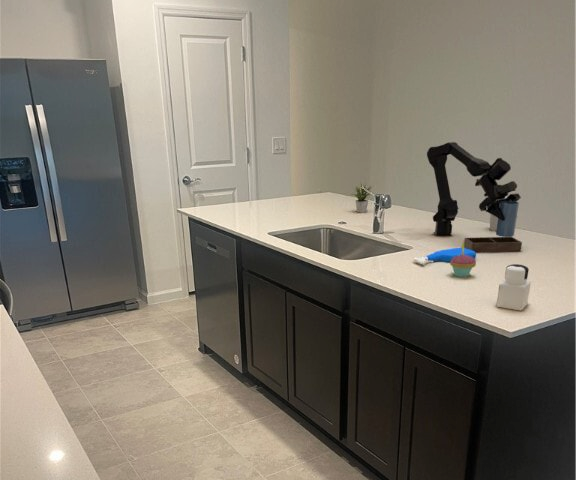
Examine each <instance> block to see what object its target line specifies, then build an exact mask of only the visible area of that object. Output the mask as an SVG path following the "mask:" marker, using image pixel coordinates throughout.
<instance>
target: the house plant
mask: <svg viewBox="0 0 576 480" xmlns="http://www.w3.org/2000/svg"><path fill="white" fill-rule="evenodd" d="M353 186H354V187H353V189H354V190H355V192H356V193H352V194H351V195H354V196H355V197H356V198H357V199H356V200H355V207H356V212H357V213H359V214H363V213H367V210H368V204H369V200H368V199H367V197H369V196H371V193H370V192H366V191H365V190H368V191H370V190H372V188H373V185H370V186H369V187H368V188H367V183H366V182H365V183H364V185H363V184H362V182H361V181H360V187H358V186H357V185H355V184H353ZM361 187H364V188H366V189H365V190H364V189H362V188H361Z"/></svg>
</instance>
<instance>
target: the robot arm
mask: <svg viewBox="0 0 576 480" xmlns="http://www.w3.org/2000/svg"><path fill="white" fill-rule="evenodd" d="M449 155H451V156H452V157H453V158H455V159H456V160H457V161H459V162H460V163H461V164H463V165H464V166H465V169H466V171H467V172H468V173H469V174H470V175H471V176H472V177H474V178H475V177H480V178H476V180H475V184H474V186H475V187H480V186H481V188H482V191H483V192H484V194H483V196H484V197H485V198H484V199H483V200H482V201H481V202H480V203H478V204H479V205H478V208H479V211H480V212H485V213H489V215H490V214H492V215H494V216H496V217H497V218H499V219H500V220H502V221H504V220H505V217H504V215H503V213H502V211H501V209H500V202H502V201H514V202H519V200H520V199H521V196H520V193H517V192H515V191H516V190H517V189H518V184H517V183H516V182H515V181H514V180H511V181H509V182H507V183H505V184H499V183H498V181H501V180H502V179H503V178H504V177H505V176H506V175H507V174H508V173H509V172H510V171H511V170H512V167H511V165H510V163H509V162H507V161H506V160H504V159H503V158H502V157H497V158H496V159H495V160H494V162H493V163H492V164H490V163H489V162H488V161H487V160H484V159H483V158H478V157H475V156H474V155H472V154H471V153H470V152H469V151H467V150H465V149H464V148H463V147H462V146H461V145H459V144H458V143H457V142H456V141H450V142H446V143H444V144H441V145H438V146H430V147H429V148H428V150H427V151H426V157H427V160H428V163H429V165H431V167H432V168H433V171H434V175H435V176H434V177H435V183H436V188H437V194H438V198H439V201H438V204H437V212H436V213H435V214H434V215H433V216H432V222H435V228H434V229H435V230H434V232H433V234H434V235H435V236H437V237H450V236H452V231H453V224H452V222H454V221H455V219H456V217H457V215H458V214H459V209H460V208H459V206H458V201H457V199H454V198H452V196H451V190H450V189H451V188H450V185H449V179H448V173H447V168H446V164H447V161H448V156H449ZM511 192H515V193H511ZM509 193H510V194H509ZM506 196H507V198H505V197H506Z"/></svg>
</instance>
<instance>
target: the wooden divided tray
mask: <svg viewBox="0 0 576 480" xmlns="http://www.w3.org/2000/svg"><path fill="white" fill-rule="evenodd" d="M463 240H464V248H466V249H469V250H472V251H475V253H476V254H477V253H478V254H479V253H481V254H482V253H515V252H516V253H518V252H519V253H520V252H522V244H523V242H522V241H521V240H519V239H517V238H515V237H514V236H512V237H503V236H485V237H484V236H483V237H464V238H463Z"/></svg>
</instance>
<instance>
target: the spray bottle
mask: <svg viewBox="0 0 576 480" xmlns="http://www.w3.org/2000/svg"><path fill="white" fill-rule="evenodd" d="M457 255H462V247H453V248H447V249H441V250H437V251H434V252H433V253H430V254H428V255H425V256H421V257H420V256H419V257H415V256H414V257H413V262H415V263H417V264H419V265H423V266H425V265H426V264H428V263H434V262H437V261H440V262H445V263H450V262H451V259H452V258H454V257H455V256H457ZM464 255H467V256H470V257H472V258H473V259H474V260H476V258H477V253H475V251H472V250H469V249H466V248H465V247H464Z"/></svg>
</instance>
